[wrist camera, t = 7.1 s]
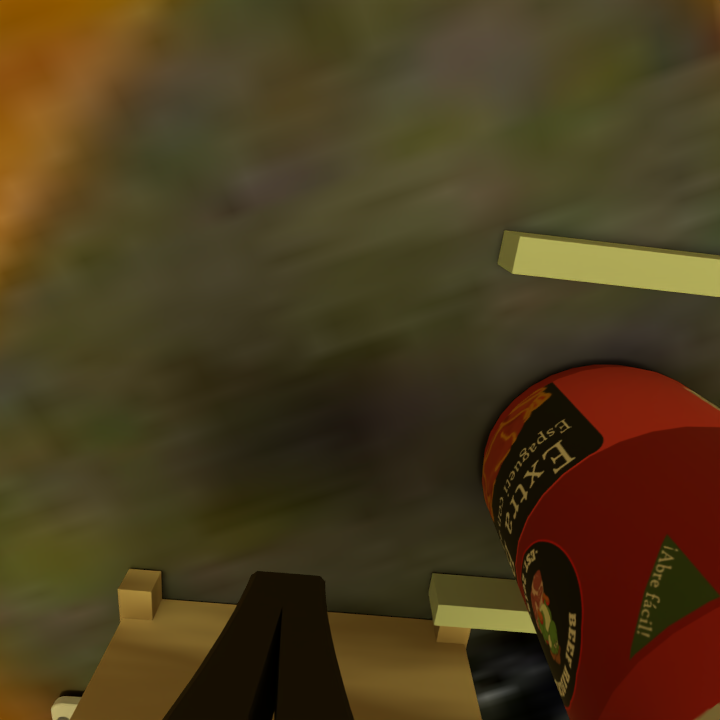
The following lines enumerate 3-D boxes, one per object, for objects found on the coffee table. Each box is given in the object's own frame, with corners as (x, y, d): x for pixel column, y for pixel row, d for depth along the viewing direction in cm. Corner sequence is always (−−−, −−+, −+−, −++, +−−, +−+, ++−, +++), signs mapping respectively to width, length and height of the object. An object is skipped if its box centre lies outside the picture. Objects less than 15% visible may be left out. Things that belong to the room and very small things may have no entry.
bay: (696, 614, 20) (722, 647, 19) (428, 592, 20) (434, 625, 18) (856, 271, 15) (907, 281, 14) (504, 230, 15) (519, 236, 13)
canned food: (488, 352, 16) (722, 669, 6) (731, 359, 16) (1381, 679, 6) (463, 543, 19) (594, 992, 8) (673, 547, 19) (1051, 994, 9)
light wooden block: (450, 668, 21) (485, 847, 15) (134, 644, 20) (50, 823, 15) (468, 596, 20) (513, 765, 14) (129, 568, 19) (35, 734, 13)
